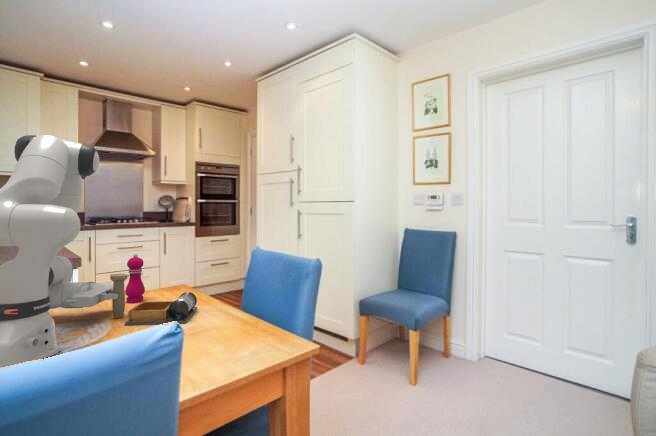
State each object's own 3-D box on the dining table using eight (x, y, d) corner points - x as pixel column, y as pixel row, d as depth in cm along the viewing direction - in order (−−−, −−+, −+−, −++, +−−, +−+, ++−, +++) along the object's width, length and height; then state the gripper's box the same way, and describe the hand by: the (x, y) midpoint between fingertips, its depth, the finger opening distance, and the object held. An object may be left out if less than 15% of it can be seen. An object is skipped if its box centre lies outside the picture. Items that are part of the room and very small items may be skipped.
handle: (115, 320, 119) (115, 276, 119) (106, 317, 123) (107, 274, 123) (130, 317, 123) (130, 274, 123) (121, 314, 127) (121, 273, 127)
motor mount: (186, 323, 117) (186, 302, 117) (124, 325, 114) (124, 303, 114) (198, 309, 135) (198, 290, 135) (144, 310, 132) (145, 291, 132)
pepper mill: (138, 303, 142) (139, 254, 141) (121, 303, 142) (121, 254, 142) (148, 299, 149) (148, 252, 149) (131, 299, 149) (132, 252, 149)
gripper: (60, 292, 111) (107, 291, 113) (93, 280, 131) (132, 280, 133) (60, 312, 111) (107, 311, 113) (93, 297, 131) (132, 296, 133)
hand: (121, 294), depth 123 cm, fingers closed on handle, 3 cm apart
